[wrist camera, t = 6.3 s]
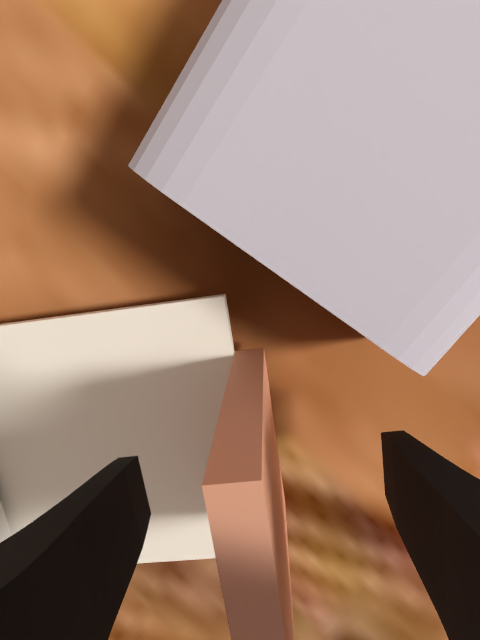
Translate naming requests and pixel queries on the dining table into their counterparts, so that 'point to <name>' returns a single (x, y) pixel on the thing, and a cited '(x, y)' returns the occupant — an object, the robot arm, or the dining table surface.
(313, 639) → the dining table surface
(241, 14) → the charger
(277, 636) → the cream boxy piece
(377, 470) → the dining table surface
